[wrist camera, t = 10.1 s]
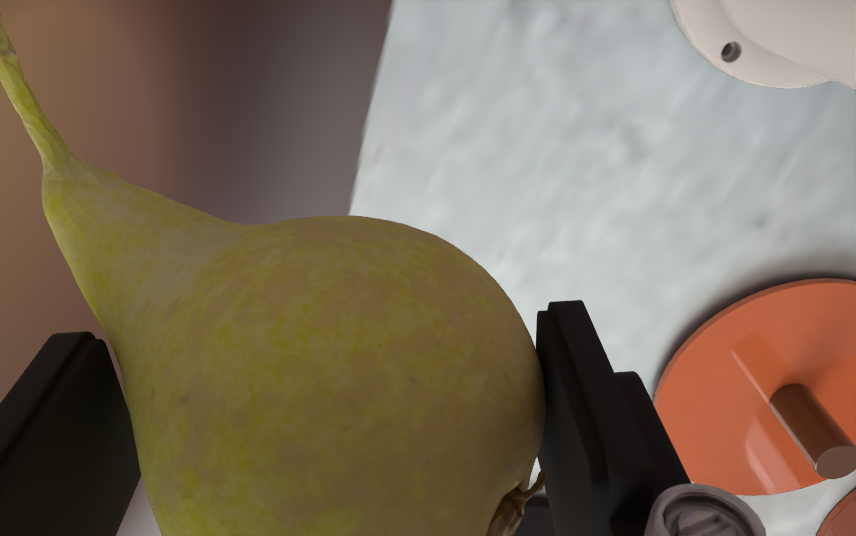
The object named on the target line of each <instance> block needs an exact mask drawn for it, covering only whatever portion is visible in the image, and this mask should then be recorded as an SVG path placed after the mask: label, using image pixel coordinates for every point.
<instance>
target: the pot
mask: <svg viewBox="0 0 856 536" xmlns="http://www.w3.org/2000/svg"><path fill="white" fill-rule="evenodd" d="M817 536H856V489H855V490H853V491H852V492H851V493H849V494H848V495H847V496H846V497H845V498H844V499H843V500H841V501H840V502H839V503H838V504H837V506H836V507H835V508H834V509H833V510H832V511H831V512H830V513H829V515H828V516H827V518H826V519H825V520H824V522H823V524H822V525H821V527H820V529H819V531H818V534H817Z"/></svg>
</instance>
